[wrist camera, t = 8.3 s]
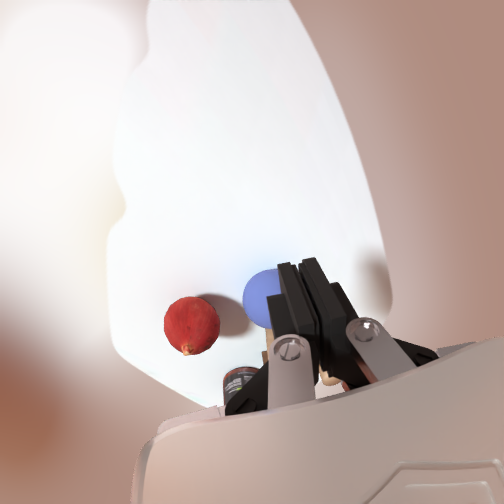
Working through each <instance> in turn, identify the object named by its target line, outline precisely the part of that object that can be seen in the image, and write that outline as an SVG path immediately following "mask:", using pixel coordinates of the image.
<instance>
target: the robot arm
mask: <svg viewBox="0 0 504 504" xmlns="http://www.w3.org/2000/svg"><path fill="white" fill-rule="evenodd" d="M277 267H278V275H279V282H280V290H281V294H276V295H271V296H266V299H267V305H268V311H269V316H270V322H271V327H272V331H273V336H274V341H273V342H272V344H271V345H270V348H269V360H268V361H267V362H266V363H265V364H264V365H263V366H262V367H261V368H260V369H259V371H258V372H257V373H256V374H255V375H254V376H253V377H252V378H251V379H250V380H249V381H248V382H247V383H246V384H245V385H244V386H243V387H242V388H241V389H240V390H239V391H238V392H237V393H236V394H235V395H234V396H233V397H232V398H231V399H230V400H229V401H228V403H227V404H226V405H224V406H221V407H217V405H216V406H213V407H209V408H206V409H203V410H199V411H196V412H192V413H189V414H186V415H181V416H178V417H174V418H170V419H168V420H165V421H164V422H163V423H162V424H161V425H160V426H159V428H158V431H157V432H158V433H157V436H155V437H153V438H152V439H151V440H149V441H148V442H147V443H146V444H145V445H144V446H143V448H142V449H141V451H140V454H139V456H138V459H137V462H136V466H135V470H134V476H133V482H132V491H131V504H504V337H494V338H489V339H485V340H482V341H479V342H468V343H464V344H459V345H455V346H449V347H443V348H438V349H436V351H435V352H434V351H432V350H430V349H428V348H425V347H421V346H418V345H414V344H411V343H408V342H405V341H402V340H399V339H395V338H392V337H391V336H390V334H389V333H388V332H387V331H386V330H385V329H384V327H383V326H382V325H381V324H380V323H379V322H378V321H376V320H374V319H372V318H367V317H362V318H359V317H358V315H357V313H356V312H355V310H354V308H353V306H352V305H351V303H350V301H349V299H348V298H347V296H346V294H345V293H344V291H343V289H342V287H341V286H340V284H339V283H338V282H334V283H329V281H328V280H327V278H326V276H325V274H324V272H323V271H322V269H321V267H320V265H319V263H318V262H317V260H316V258H315V257H313V258H308V259H303V260H302V263H299V264H298V268H299V272H298V270H297V267H296V265H295V264H294V265H291V264H290V262H287V263H282V264H277ZM319 364H320V367H321V370H322V372H325V371H327V374H328V377H329V378H331V377H335V378H337V379H339V380H341V385H342V387H343V389H344V390H345V392H343V393H339V394H336V395H332V396H328V397H324V398H320V399H315V388H314V386H315V385H316V384H317V382H318V380H319Z"/></svg>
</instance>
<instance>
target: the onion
mask: <svg viewBox="0 0 504 504" xmlns="http://www.w3.org/2000/svg"><path fill="white" fill-rule="evenodd" d="M219 330H220V320H219V316H218V315H217V313H216V311H215V309H214V308H213V307H212V306H211V305H210V304H209V303H208V302H206V301H205V300H203V299H200V298H198V297H185V298H180V299H179V300H177V301H176V302H174V303H173V304H172V305H170V307H169V309H168V311H167V312H166V315H165V317H164V332H165V335H166V337H167V338H168V340H169V342H170V344H171V345H172V346H173V347H174V348H176V349H177V350H178V351H180V352H182V353H183V354H184V355H185V356H187V355H196V354H200V353H202V352H204V351H206V350H208V349H209V348H210V347H211V346H212V345H213V344H214V342H215V341H216V340H217V338H218V336H219Z"/></svg>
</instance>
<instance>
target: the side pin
mask: <svg viewBox="0 0 504 504" xmlns="http://www.w3.org/2000/svg"><path fill="white" fill-rule="evenodd" d="M319 373H320V376H321V379H322V382H323V384H324V385H326V386H332V385H336V384H338V383H339V382H341V380H339V379H337V378H335V377H331V378H329V377H328V374H327V371H325V372H322V370H321V367H320V364H319Z"/></svg>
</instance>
